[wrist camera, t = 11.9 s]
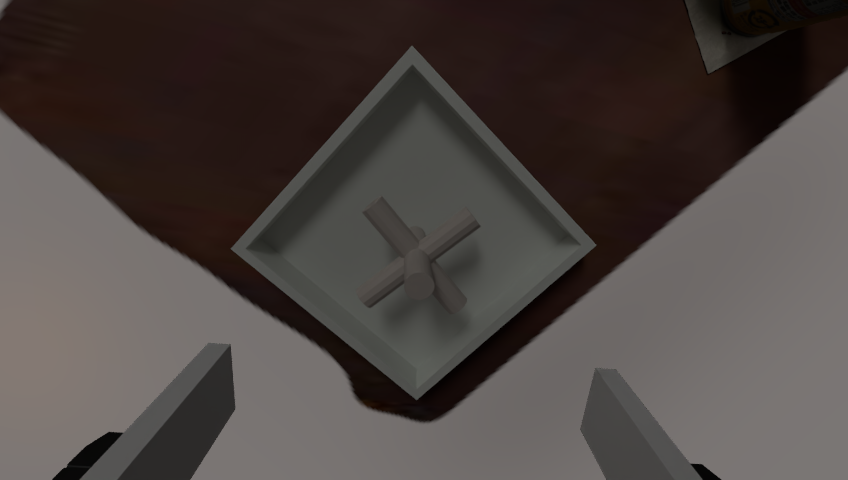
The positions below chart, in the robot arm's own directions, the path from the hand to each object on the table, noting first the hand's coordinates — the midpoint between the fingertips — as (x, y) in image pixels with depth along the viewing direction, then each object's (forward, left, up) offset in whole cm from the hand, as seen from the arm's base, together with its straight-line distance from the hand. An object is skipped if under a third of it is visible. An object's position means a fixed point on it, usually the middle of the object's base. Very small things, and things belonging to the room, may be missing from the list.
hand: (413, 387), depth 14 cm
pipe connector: (0, 0, -20) cm, 20 cm away
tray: (0, 0, -20) cm, 20 cm away
